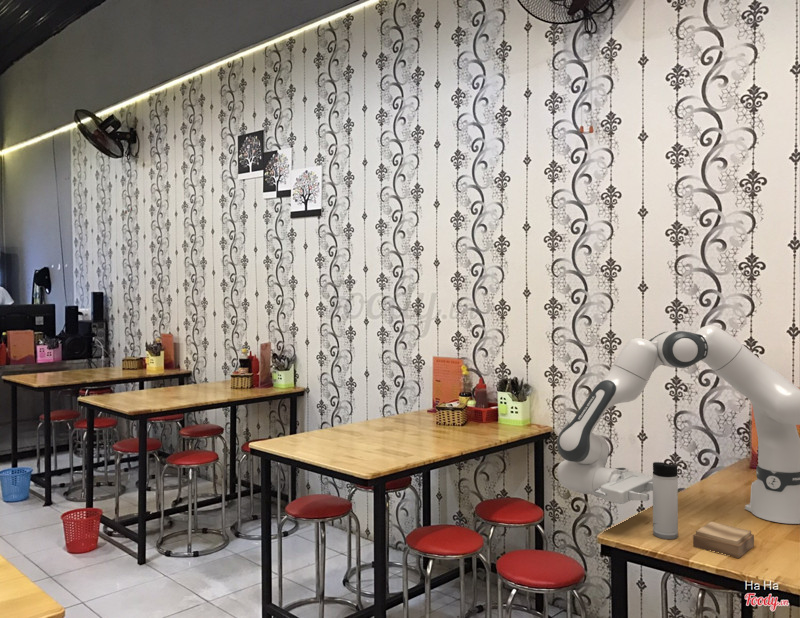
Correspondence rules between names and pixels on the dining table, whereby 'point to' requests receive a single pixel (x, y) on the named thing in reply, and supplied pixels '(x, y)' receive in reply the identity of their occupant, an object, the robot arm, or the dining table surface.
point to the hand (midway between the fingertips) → (656, 493)
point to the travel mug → (665, 500)
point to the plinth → (724, 539)
